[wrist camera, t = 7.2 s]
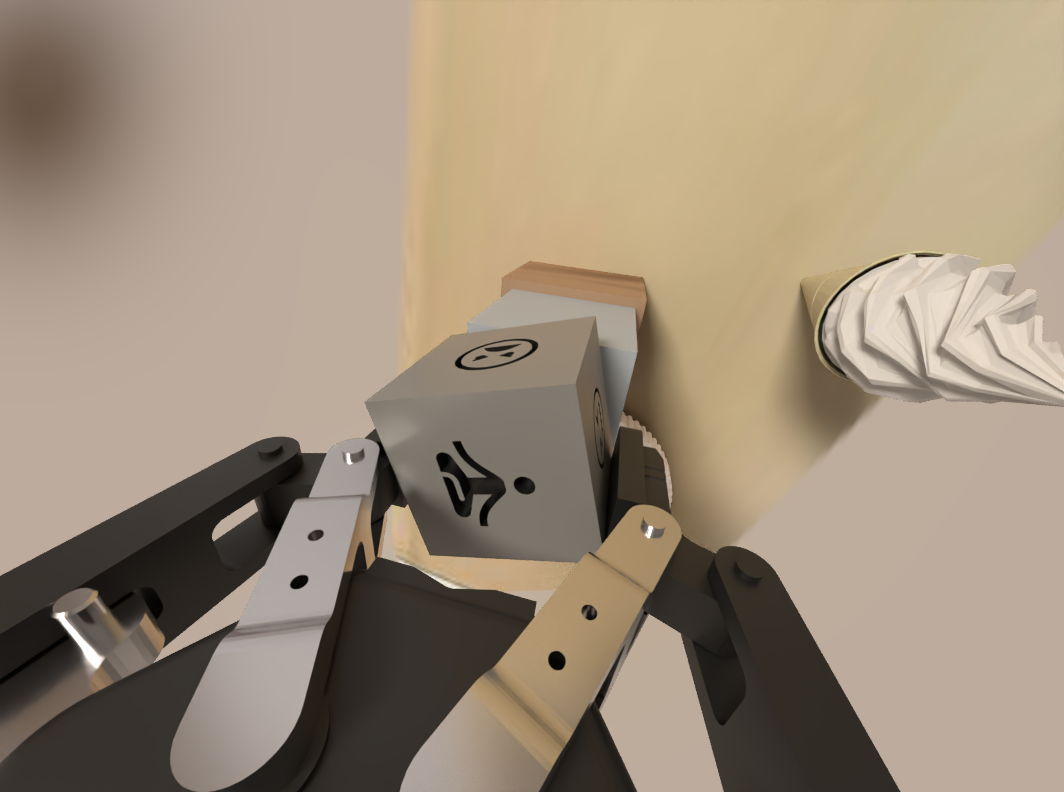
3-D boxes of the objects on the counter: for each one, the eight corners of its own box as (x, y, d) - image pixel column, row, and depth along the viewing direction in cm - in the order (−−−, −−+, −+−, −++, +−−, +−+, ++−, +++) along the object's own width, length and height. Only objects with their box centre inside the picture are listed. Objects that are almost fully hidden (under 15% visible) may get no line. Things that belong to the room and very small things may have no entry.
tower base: (529, 261, 24) (502, 277, 19) (642, 277, 23) (647, 299, 18) (520, 363, 27) (494, 401, 22) (618, 381, 26) (615, 426, 21)
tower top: (512, 288, 19) (467, 322, 14) (635, 307, 18) (637, 352, 13) (504, 395, 22) (464, 456, 16) (609, 416, 21) (603, 488, 15)
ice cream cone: (882, 243, 19) (1400, 329, 6) (828, 336, 22) (1122, 534, 9) (781, 223, 20) (1065, 264, 7) (739, 316, 22) (892, 474, 9)
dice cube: (451, 335, 13) (364, 401, 9) (595, 315, 12) (575, 383, 7) (486, 454, 15) (430, 555, 11) (612, 449, 14) (605, 563, 10)
